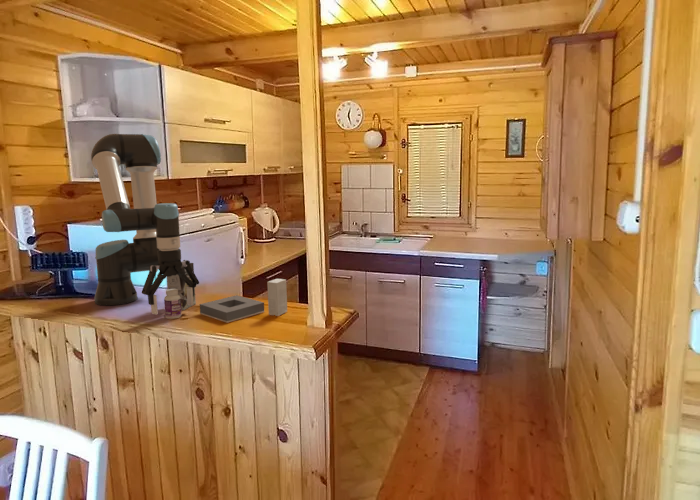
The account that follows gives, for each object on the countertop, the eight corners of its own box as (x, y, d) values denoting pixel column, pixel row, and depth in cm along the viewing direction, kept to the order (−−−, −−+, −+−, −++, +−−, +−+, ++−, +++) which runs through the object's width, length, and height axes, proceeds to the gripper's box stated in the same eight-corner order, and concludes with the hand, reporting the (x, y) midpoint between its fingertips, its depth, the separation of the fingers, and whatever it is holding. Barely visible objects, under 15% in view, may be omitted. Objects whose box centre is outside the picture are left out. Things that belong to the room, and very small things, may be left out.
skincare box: (277, 310, 179) (276, 278, 177) (287, 311, 177) (286, 279, 175) (267, 314, 173) (266, 281, 171) (278, 316, 171) (276, 282, 169)
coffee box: (184, 310, 179) (181, 267, 176) (168, 309, 180) (165, 266, 177) (196, 303, 188) (194, 262, 185) (181, 303, 189) (178, 261, 186)
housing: (200, 313, 175) (199, 304, 174) (237, 304, 187) (236, 295, 186) (227, 322, 165) (226, 312, 164) (264, 311, 177) (264, 302, 176)
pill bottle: (174, 319, 168) (172, 292, 166) (162, 318, 170) (160, 291, 168) (184, 315, 173) (183, 288, 171) (172, 314, 175) (170, 287, 173)
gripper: (138, 255, 156) (143, 319, 159) (207, 245, 174) (210, 303, 178) (127, 252, 161) (132, 315, 164) (195, 243, 179) (198, 299, 183)
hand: (173, 309), depth 171 cm, fingers open, 13 cm apart
